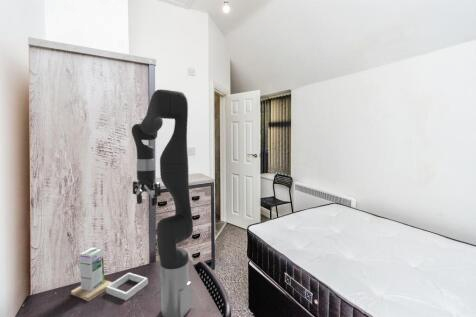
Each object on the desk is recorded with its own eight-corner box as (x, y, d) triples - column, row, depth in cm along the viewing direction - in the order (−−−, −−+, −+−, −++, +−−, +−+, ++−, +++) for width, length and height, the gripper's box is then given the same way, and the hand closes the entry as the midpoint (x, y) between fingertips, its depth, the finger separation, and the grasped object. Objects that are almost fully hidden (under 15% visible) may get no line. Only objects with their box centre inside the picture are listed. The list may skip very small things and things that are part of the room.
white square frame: (148, 283, 93) (147, 278, 93) (126, 300, 83) (126, 294, 83) (129, 277, 97) (128, 272, 97) (106, 293, 87) (106, 286, 87)
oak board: (113, 285, 92) (113, 282, 92) (88, 301, 83) (88, 298, 82) (96, 279, 96) (96, 276, 96) (71, 294, 86) (71, 291, 86)
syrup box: (92, 291, 86) (91, 255, 85) (80, 289, 87) (78, 253, 86) (105, 283, 91) (103, 248, 90) (93, 280, 93) (91, 246, 92)
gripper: (127, 169, 100) (128, 205, 101) (151, 170, 95) (152, 208, 96) (140, 167, 107) (141, 201, 108) (164, 168, 101) (165, 204, 103)
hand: (146, 204), depth 102 cm, fingers open, 8 cm apart
